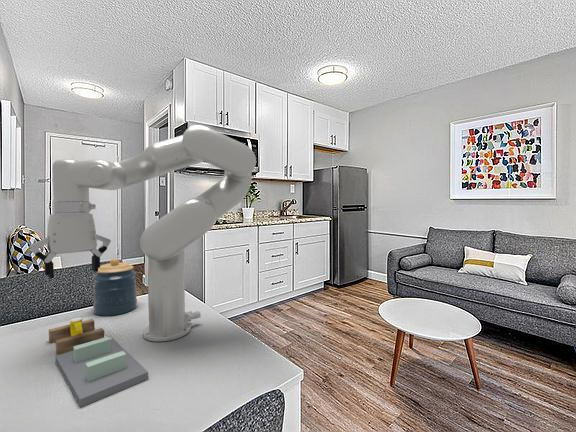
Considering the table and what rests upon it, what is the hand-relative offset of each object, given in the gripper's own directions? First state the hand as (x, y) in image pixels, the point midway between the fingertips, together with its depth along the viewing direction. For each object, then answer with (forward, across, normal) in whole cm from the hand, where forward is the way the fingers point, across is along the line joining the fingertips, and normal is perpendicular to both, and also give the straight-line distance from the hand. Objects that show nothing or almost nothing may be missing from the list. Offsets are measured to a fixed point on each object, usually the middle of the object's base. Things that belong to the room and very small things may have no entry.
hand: (73, 274), depth 79 cm
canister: (+18, -15, -18) cm, 30 cm away
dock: (+18, 0, +20) cm, 27 cm away
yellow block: (+18, 0, 0) cm, 18 cm away
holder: (+18, 0, 0) cm, 18 cm away
